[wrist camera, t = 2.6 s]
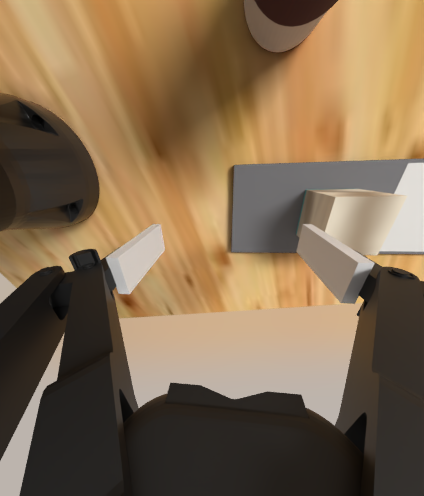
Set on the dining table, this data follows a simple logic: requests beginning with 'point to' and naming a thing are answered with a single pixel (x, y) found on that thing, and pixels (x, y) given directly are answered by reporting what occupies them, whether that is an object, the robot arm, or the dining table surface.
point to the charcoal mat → (321, 177)
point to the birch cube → (352, 216)
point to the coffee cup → (283, 21)
